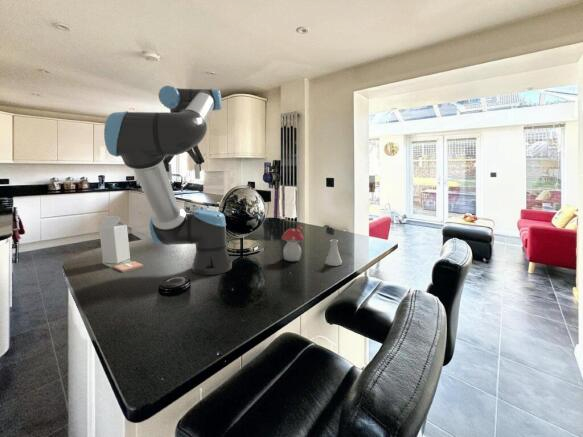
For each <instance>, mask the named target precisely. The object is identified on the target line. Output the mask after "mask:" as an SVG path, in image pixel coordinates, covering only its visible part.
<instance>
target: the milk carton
mask: <svg viewBox="0 0 583 437" xmlns="http://www.w3.org/2000/svg"><path fill="white" fill-rule="evenodd" d="M98 230H99V232H98V233H99V238H100V248H101V256H102V257H101V258H102V264H103V263H115V264H118V263H120V262H123V261H125V260H131V253H130V246H129V245H130V243H129V234H128V225H127V224H126V223H125V222H124V221H122V220H121V218H120V216H112V215H111V216H104V220H103V221H102V222H101V224H100V225H99V227H98Z"/></svg>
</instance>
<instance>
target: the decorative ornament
mask: <svg viewBox="0 0 583 437" xmlns="http://www.w3.org/2000/svg"><path fill="white" fill-rule="evenodd" d="M301 231H303V227H302V226H301V225H298V226H297V227H296V228H293V227H290V228H288V229H286V230H285V232H284V233H283V234H282V235H281V240H282V241H286V243H285V245H284V247H283V250H282V254H283V259H284V261H287V262H298V261H300V259H301V257H302V248H301V246H300V244H299V242H300V243H301V242H303V241H304V236H303V234H302V233H301Z"/></svg>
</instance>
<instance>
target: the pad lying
mask: <svg viewBox="0 0 583 437" xmlns="http://www.w3.org/2000/svg"><path fill="white" fill-rule="evenodd" d="M143 267H144V264H142V263H140V262H138V261H135V260H134V261H133V260H132V261H131V262H128V263H124V264H120V265H116V266H114V267H113V269H114V270H115V269H116V270H117V271H119V272H121V273H126V272H129V271H133V270H136V269H139V268H143Z"/></svg>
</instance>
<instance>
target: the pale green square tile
mask: <svg viewBox="0 0 583 437" xmlns="http://www.w3.org/2000/svg"><path fill="white" fill-rule="evenodd" d="M128 262H132V260H131V259H128V260H125V261H123V262H120V263H118V264H115V263H103V262H102V265H104V266H107V267H109V268H114V266H116V265H120V264H124V263H128Z"/></svg>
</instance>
